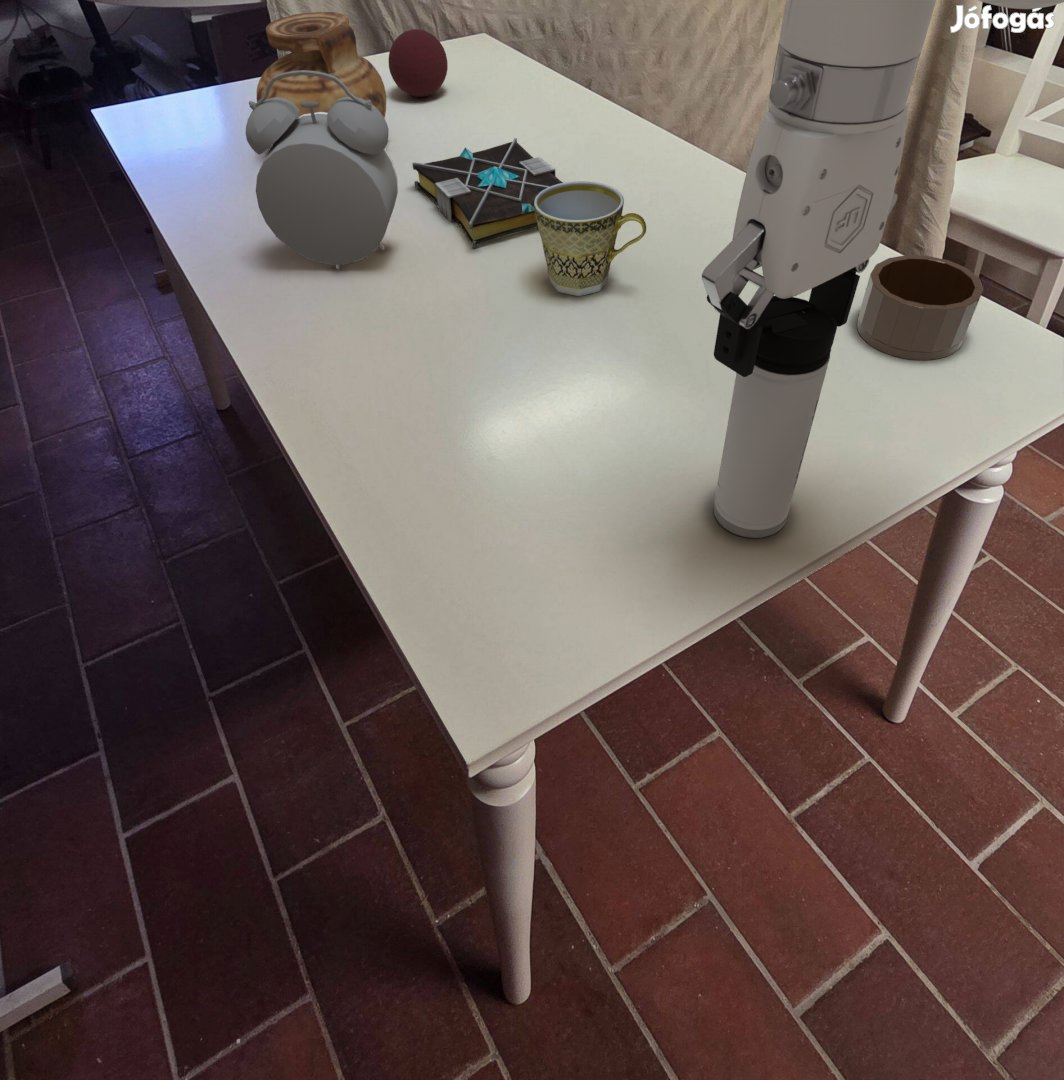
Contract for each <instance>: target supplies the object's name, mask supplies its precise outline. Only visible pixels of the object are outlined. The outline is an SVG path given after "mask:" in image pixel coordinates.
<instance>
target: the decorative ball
mask: <svg viewBox="0 0 1064 1080" xmlns="http://www.w3.org/2000/svg"><path fill="white" fill-rule="evenodd" d="M448 65H449V64H448V57H447V53H446V51H445V48H444V46H443V44H442V43H441V41H440V40H439V39H438V38H437V37H436V36H435V35H433V34H432V33H431V32H429V31H426V30H424V29H420V28H419V29H417V28H412V29H409V30H405V31H404V32H402V33H401V34H398V36H397V37H396V38H395V40H394V41H393V43H392V44H391V47H390V49H389V52H388V69H389V74H390V75H391V78H392V80H393V82H394V83H395V85H396V87H398V88H399V89H400V91H403V93H405V94H407V95H409V96H412V97H415V98H424V97H429V96H431V95H433V94H434V93H436V92H437V91H439V89H441V87H442V86H443V84H444V82H445V80H446V77H447V74H448V67H449V66H448Z"/></svg>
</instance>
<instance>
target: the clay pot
mask: <svg viewBox="0 0 1064 1080" xmlns="http://www.w3.org/2000/svg"><path fill="white" fill-rule="evenodd" d="M354 30H355V29H353V28H352V26H350V19H349V17H348V16H346V15H345V14H342V13H340V12H335V11H315V12H302V13H295V14H292V15H289V16H284V17H281V18H278V19H276V20H273V21H271V22H269V23H268V24H267V25H266V27H265V33H266V37H267V40H268V45H269V46H271V47H272V48H274V49H276V50H278V51H281V52H284V53H286V52H290V53H286V54H284V55H282V56H280V57H279V59H277V60H275V61H274V62H273V63H271V64H270V65H269V66H268V67H267V68H266V69H265V70H264V71H263V73H262V74H261V76H260V78H259V80H258V83H257V85H256V86H257V87H256V103H257V102H258V101H259V100H260V99H262V98H263V96H264V95H265V93H266V88H267V85H268V83H269V82H270V81H271V79H272V78H273V77H274V76H277V75H279V74H281V73H286V72H291V71H299V70H307V71H316V72H322V73H326V74H329V75H332V76H335V77H336V78H338V79H339V80H340V81H341V82H342V83H344V84H345V86H346V87H347V89H348V90H349V91H350V92H351V93H352V94H353V95H354V96H355V97H357V98H361V99H364V100H366V101H368V100H371V102H372V105H373V106H375V107H376V108H377V109H378V110H379V111H380V112H381V114H382V115H383V117H384V119H385V120H386V113H387V92H386V88H385V83H384V81H383V78H382V76H381V74H380V73H379V71H378V70H377V68H376V67H375V66H374V65H373V64H372V63H371V62H370V61H369V60H368V59H367V58H365V57H364V56H362V55H361V54H358V51H357V49H358V48H357V38H356V35H355V31H354ZM275 97H280V98H285V99H287V100H289V101H291V102H292V103H294V104H295V105H296V107H297V108H298V109H299V110H300V111H299V113H298V115H297V117H296V118H298V117H300V116H302V115H304V114H310V109H309V108H303V107H302V106H301V103H302V102H319V107H318V108H313V110H314V113H317V112H325V113H328V111H329V108H330V107H331V106H332V105H333V104H334V103H335V102H336V101H337V100H338V99H340V98H343V97H349V96H348V95H347V94H346V92H345V91H344V90H343V88H341V87H340V86H339V85H338V84H337V83H335V82H334V81H333V80H330V79H327V78H323V77H317V76H309V75H298V76H291V77H285V78H281V79H279V80H277V81H275V82H274V83H273V85H272V86H271V88H270V91H269V95H268V96H267V98H266V100H267V99H270V98H275ZM296 118H295V119H296Z"/></svg>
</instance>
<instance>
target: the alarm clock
mask: <svg viewBox="0 0 1064 1080" xmlns="http://www.w3.org/2000/svg"><path fill="white" fill-rule="evenodd" d="M298 75H309V76H317V77H323V78H327V79H330V80H333V81H334V82H335V83H337V84H338V85H339V86H340V87H341V88H343V90H344V91H345V92H346V94H347V95H348V96H349V97H343V98H340V99H338V100H337V101H336V102H335V103H334V104H333V105H332V106H331V107H330V108H329V111H328V113H325V112H317V113H314V110H313V108H318V107H319V102H302V103H301V106H302V107H303V108H309V109H310V114H304V115H302V116H300V117H298V118H296V117H297V115H298V113H299V111H300V110H299V109H298V108H297V107H296V105H295V104H294V103H292V102H291V101H289V100H287V99H285V98H280V97H275V98H270V99H267V100H266V98H267V96H268V95H269V91H270V88H271V86H272V85H273V83H274V82H275V81H277V80H279V79H281V78H285V77H291V76H298ZM248 105H249V107H250V109H251V110H252V111H251V112H250V114H249V117H248V118H247V121H246V125H245V139H246V141H247V143H248V145H249V146H250V148H251V149H252V151H254V152H255V154H256V155H261V154H263V153H264V152H266V151H267V150H268V149H269V151H268V153H267V154H266V156H265V158H264V159H263V161H262V164H261V165H260V168H259V170H258V172H257V174H256V184H255V194H256V195H255V196H256V201H257V206H258V209H259V211H260V214H261V215H262V218H263V220H264V222H265V224H266V225H267V227H269V229H270V230H271V232H272V233H273V234H274V236H275V237H276V238H277V239H278V240H279V241H280V242H282V243H283V244H284V245H285V246H286V247H287V248H288V249H289V250H291V251H293V252H294V253H297V254H298V255H300V256H302V257H303V258H305V259H308V260H311V261H312V262H313V261H314V262H317V263H318V264H319V263H320V264H324V265H325V264H327V265H333V266H335V268H336V269H337V270H339V269H340V268H341V265H350V264H354V263H356V262H359V261H361V260H363V259H366V258H367V257H368V256H370V255H371V254H372V253H374V252H375V251H376V250H377V249H378V247H379V249H381V250H382V251H384V250H385V249H386V248H385V245H384V244H383V242H382V241H383V239H384V238H385V235H386V232H387V229H388V226H389V223H390V221H391V217H392V214H393V212H394V209H395V206H396V202H397V197H398V193H399V183H398V174H397V171H396V167H395V164H394V162H393V159H392V157H391V155H390V154H389V152H388V150H387V149H386V147H387V144H388V143H389V142H388V141H389V125H388V122H387V121H386V118H385V119H384V117H383V115H382V114H381V112H380V111H379V110H378V109H377V108H376V107H375V106H373V105H372V102H371V100H368V101H366V100H364V99H361V98H357V97H355V96H354V95H353V94H352V93H351V92H350V91H349V90H348V89H347V87H346V86H345V84H344V83H342V82H341V81H340V80H339V79H338V78H336V77H335V76H332V75H329V74H326V73H322V72H316V71H307V70H299V71H291V72H286V73H281V74H279V75H277V76H274V77H273V78H272V79H271V81H270V82H269V83H268V85H267V88H266V93H265V95H264V96H263V98H262V99H260V100H259V101H258V102H257V101H256V102H255V101H252V100H249V101H248ZM295 118H296V119H295Z"/></svg>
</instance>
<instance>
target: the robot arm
mask: <svg viewBox="0 0 1064 1080" xmlns="http://www.w3.org/2000/svg"><path fill="white" fill-rule="evenodd" d="M977 1H978V2H981V3H985V4H988V5H993V6H997V7H1002V8H1007V9H1016V10H1017V9H1018V10H1035V9H1042V8H1048V7H1054V6H1056V5H1060V4H1063V3H1064V0H977ZM936 3H937V0H785V4H784V10H783V14H782V22H781V27H780V33H779V39H778V44H777V50H776V56H775V62H774V66H773V72H772V77H771V84H770V89H769V94H768V95H769V96H768V101H767V108H768V111H767V112H765V113H764V114H763V118H762V120H761V124H760V127H759V129H758V132H757V135H756V138H755V142H754V146H753V148H752V151H751V155H750V158H749V162H748V166H747V169H746V173H745V177H744V181H743V185H742V189H741V193H740V198H739V203H738V207H737V210H736V211H737V212H736V216H735V220H734V221H735V222H734V227H733V233H732V239H731V241H730V242H729V243H728V244H727V245H726V246H725V247H724V248H723V249H722V250H721V251H720V252H719V253H718V254H717V255H716V256H715V258H713V259H712V260H711V261H710V263H708V265H706V266H705V268H704V269H703V271H702V272H701V281H702V284H703V287H704V291H705V292H706V301H707V303H709V304H710V305H711V307H713V309H714V311H715V312H716V313H718V314H719V318H718V319H719V320H718V323H717V331H716V338H715V343H714V348H713V357H714V360H716V361H717V362H719V363H720V364H722V365H723V366H725V367H727V368H728V369H730V370H732V371H733V372H735V374H736V373H738V374H739V375H741V376H742V377H747V376H749V375H750V374H752V373H753V370H754V365H755V360H756V356H757V351H758V346H759V341H760V336H761V332H762V325H761V324H760V323H758V322H757V320H758V319H759V317H760V316H761V314H762V313H763V311H764V310H765V308H766V306H767V305H768V303H769V302H770V300H771V299H772V297H773V296H777V297H779V298H782V299H787V298H791V297H797V296H799V295H801V294H803V293H805V292H807V291H810V294H809V298H808V301H809V302H811V303H813V304H816V307H815V308H818V309H821V310H822V311H824V312H826V313H827V314H828V315H829V316H830V317H833V318H834V320H835V321H836V323H837V328H838V327H839V328H840V327H842V326H845V324H846V323H847V322H848V319H849V316H850V312H851V309H852V305H853V302H854V299H855V295H856V292H857V289H858V286H859V285H858V284H859V282H860V278H861V275H859V274H861V273H863V272H864V271H865V270H866V269H867V267H868V265H869V263H870V258H872V256H873V255H875V253H876V252H877V251H878V249H879V247H880V244H881V241H882V238H883V236H884V231H885V228H886V224H887V221H888V218H889V216H890V214H891V212H892V210H893V209H894V207H895V205H896V203H897V200H898V194H897V193H895V189H896V184H897V181H898V176H899V173H900V172H899V171H900V167H901V162H902V159H903V158H902V157H903V151H904V146H905V141H906V140H905V139H906V132H907V125H908V113H909V112H908V111H909V102H908V99H909V95H910V92H911V88H912V84H913V81H914V78H915V74H916V71H917V67H918V64H919V61H920V58H921V53H922V51H923V47H924V44H925V40H926V37H927V34H928V31H929V27H930V24H931V20H932V16H933V13H934V10H935V7H936ZM759 268H761V270H762V274H760V273H758V272H756V271H755V270H757V269H759ZM747 283H751V284H753V285H754V286H756V287H757V290H756V292H755V293H754V295H753V296H752V298H751V299H750V301H749V303H748V304H747V303H746V302H745V301H744V300H743V299H742V298H741V297H740V295H741V294H742V292H743V291H744V289H745V287H746V286H747Z"/></svg>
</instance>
